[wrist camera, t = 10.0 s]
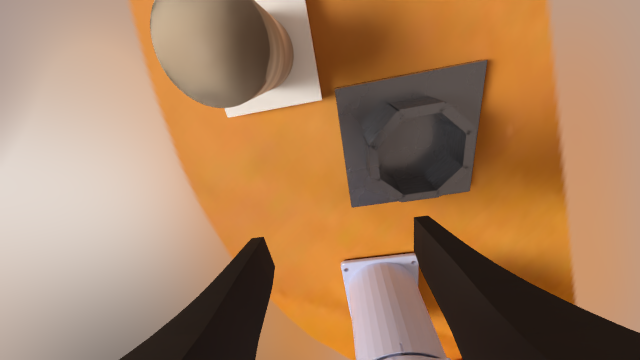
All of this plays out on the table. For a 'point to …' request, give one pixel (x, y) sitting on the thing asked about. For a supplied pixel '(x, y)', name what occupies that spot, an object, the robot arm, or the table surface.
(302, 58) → the tile pad
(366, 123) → the housing
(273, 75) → the tan cylinder
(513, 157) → the table surface
